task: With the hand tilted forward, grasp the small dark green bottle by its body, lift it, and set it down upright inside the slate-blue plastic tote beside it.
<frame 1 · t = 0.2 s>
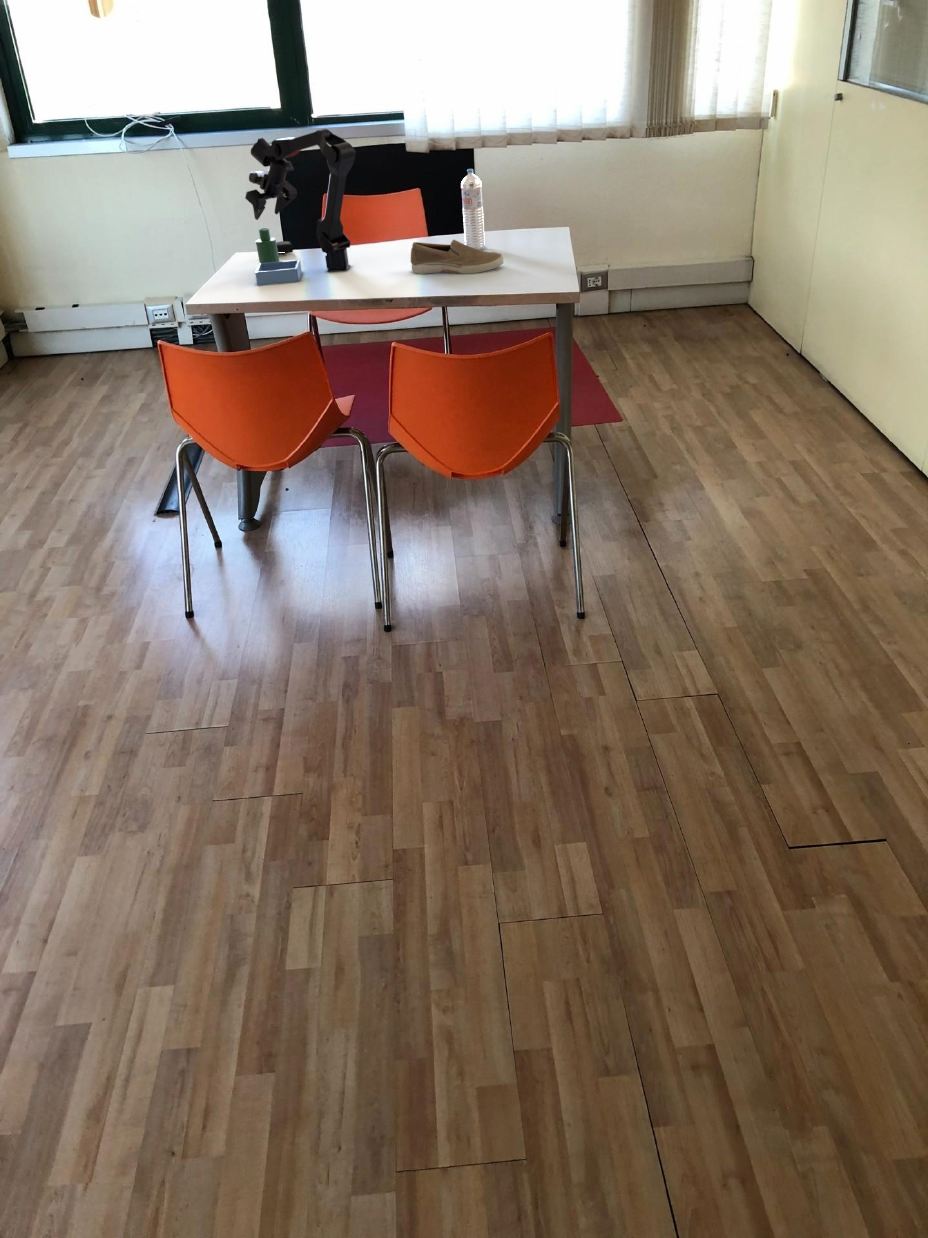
hand: (266, 216, 327), 15 cm above the table, tool tilted 35°, fingers open, 9 cm apart
slip on shoe: (457, 270, 306), on the table
tape measure: (284, 254, 344), on the table
water bottle: (475, 249, 329), on the table
bottle: (270, 269, 325), on the table
tote: (280, 278, 313), on the table
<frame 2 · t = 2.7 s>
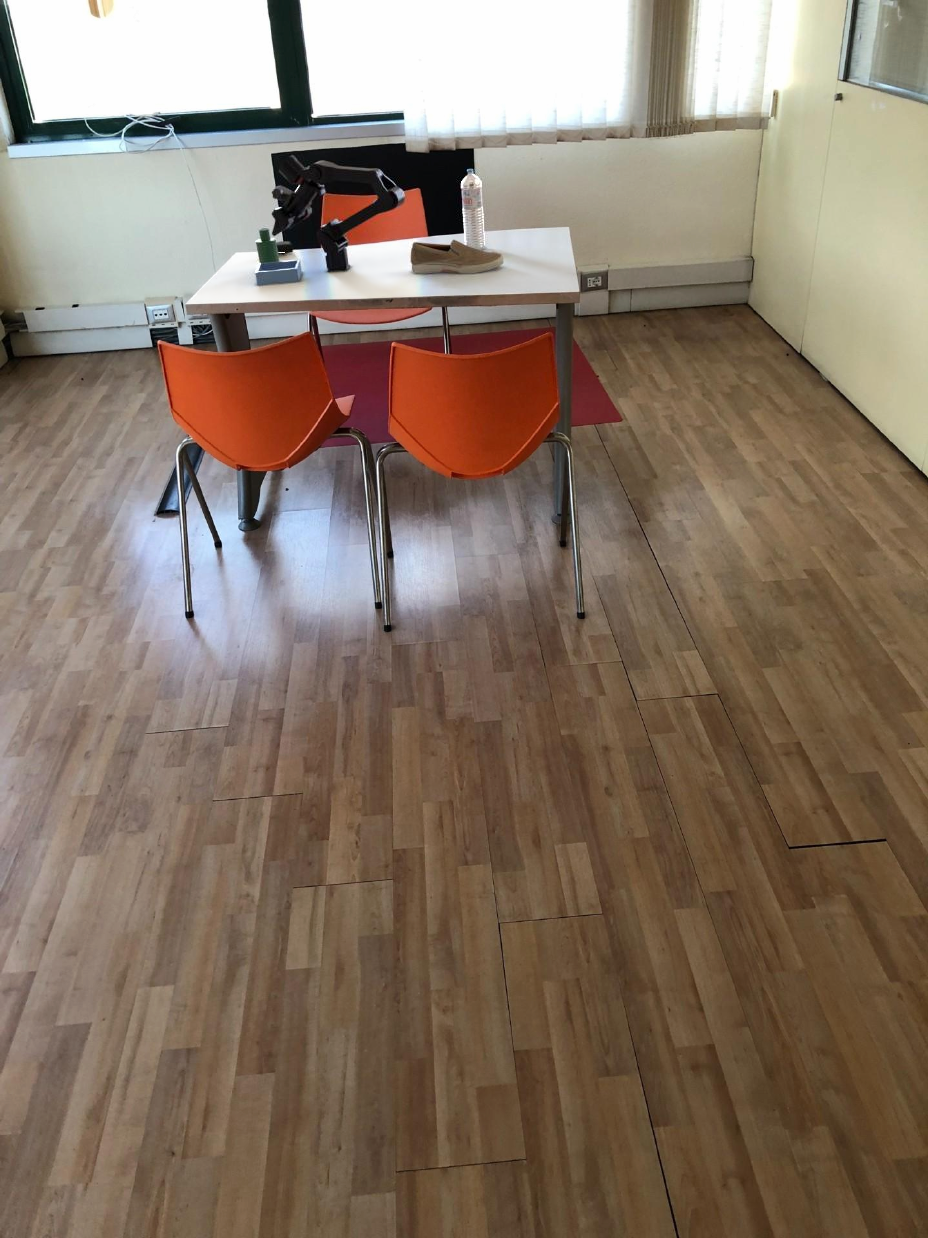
hand: (279, 231, 317), 12 cm above the table, tool tilted 45°, fingers open, 9 cm apart
nothing on the table moved.
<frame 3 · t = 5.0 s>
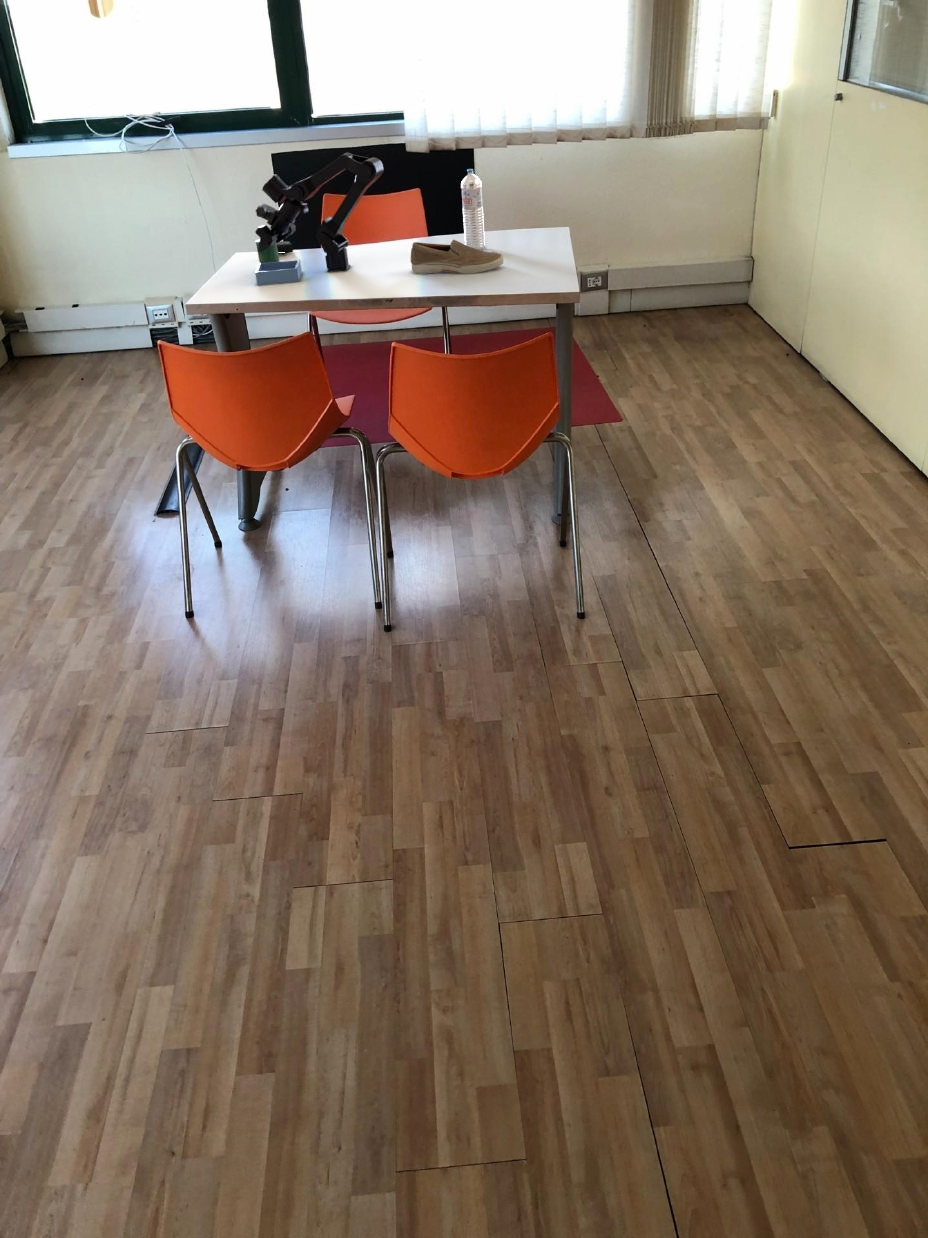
hand: (263, 248, 322), 7 cm above the table, tool tilted 45°, fingers closed on bottle, 7 cm apart
bottle: (270, 269, 325), on the table, touching gripper
everything else where it was.
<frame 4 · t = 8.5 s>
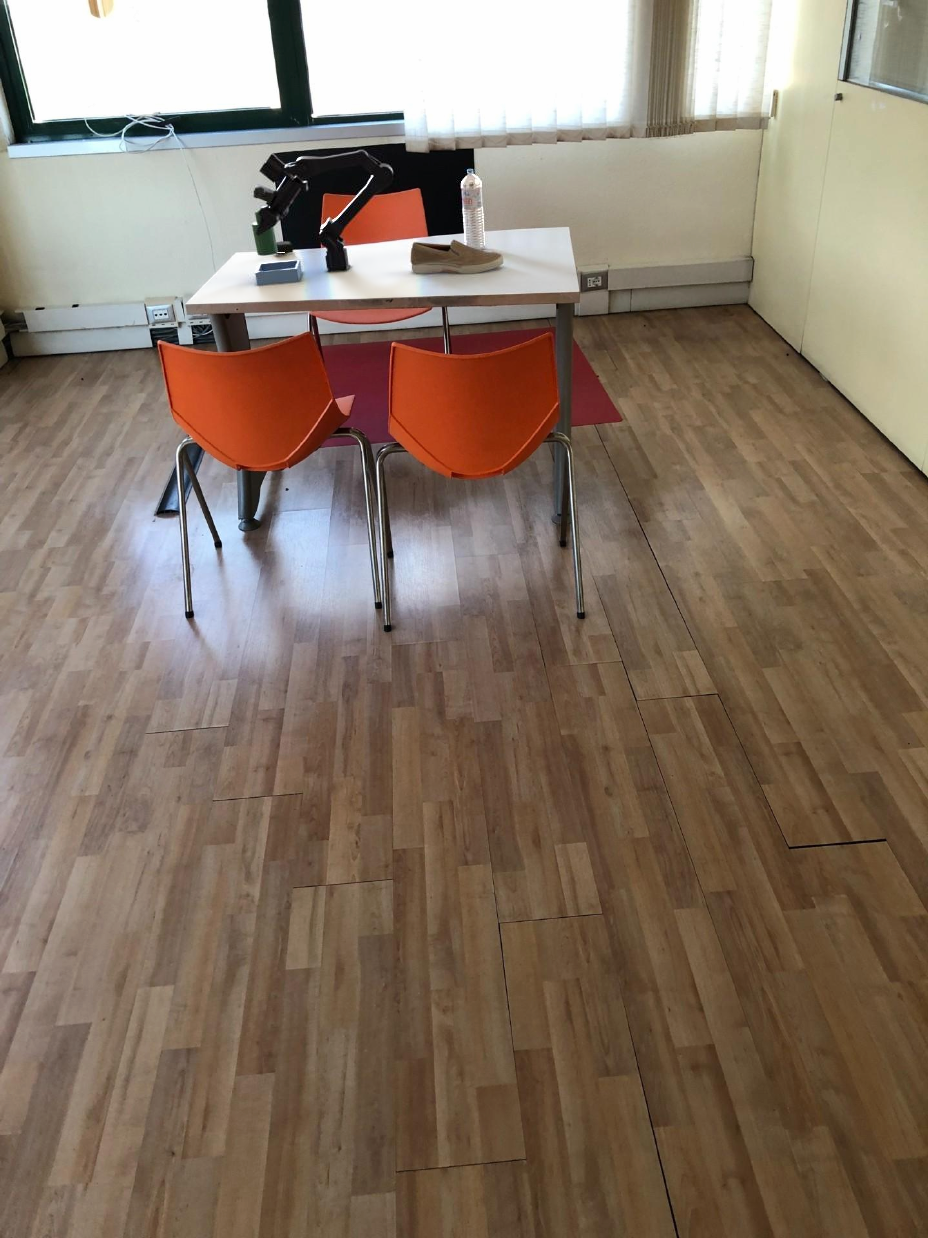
hand: (259, 232, 312), 13 cm above the table, tool tilted 45°, fingers closed on bottle, 7 cm apart
bottle: (267, 253, 315), point 7 cm above the table, touching gripper
everything else where it was.
when the fingers open (7 cm above the table, at t = 12.3 s): bottle stays where it is, resting on tote.
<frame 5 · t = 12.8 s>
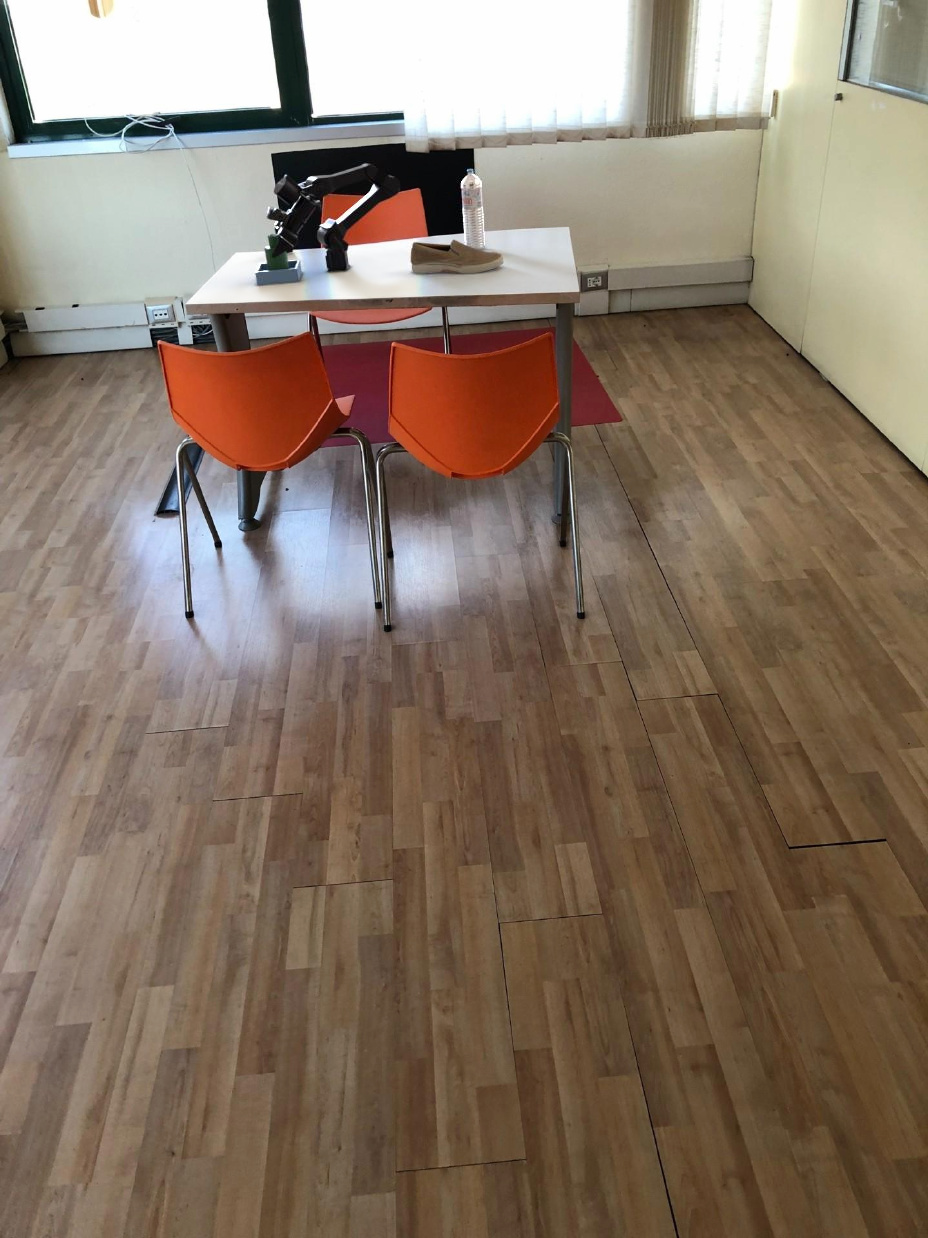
hand: (271, 254, 309), 8 cm above the table, tool tilted 45°, fingers open, 9 cm apart
bottle: (280, 276, 313), point 1 cm above the table, touching tote
everything else where it was.
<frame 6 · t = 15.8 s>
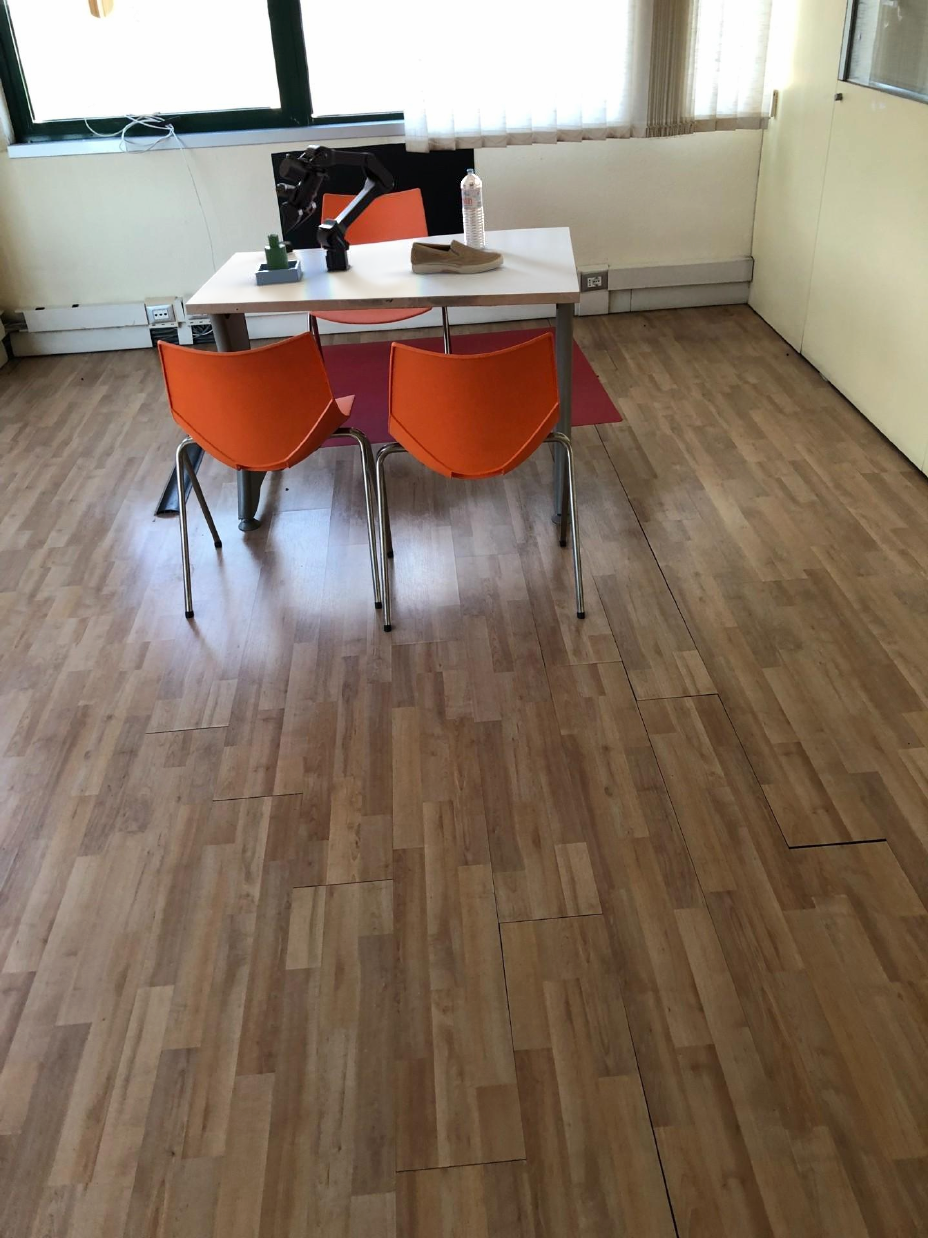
hand: (287, 231, 310), 13 cm above the table, tool tilted 35°, fingers open, 9 cm apart
nothing on the table moved.
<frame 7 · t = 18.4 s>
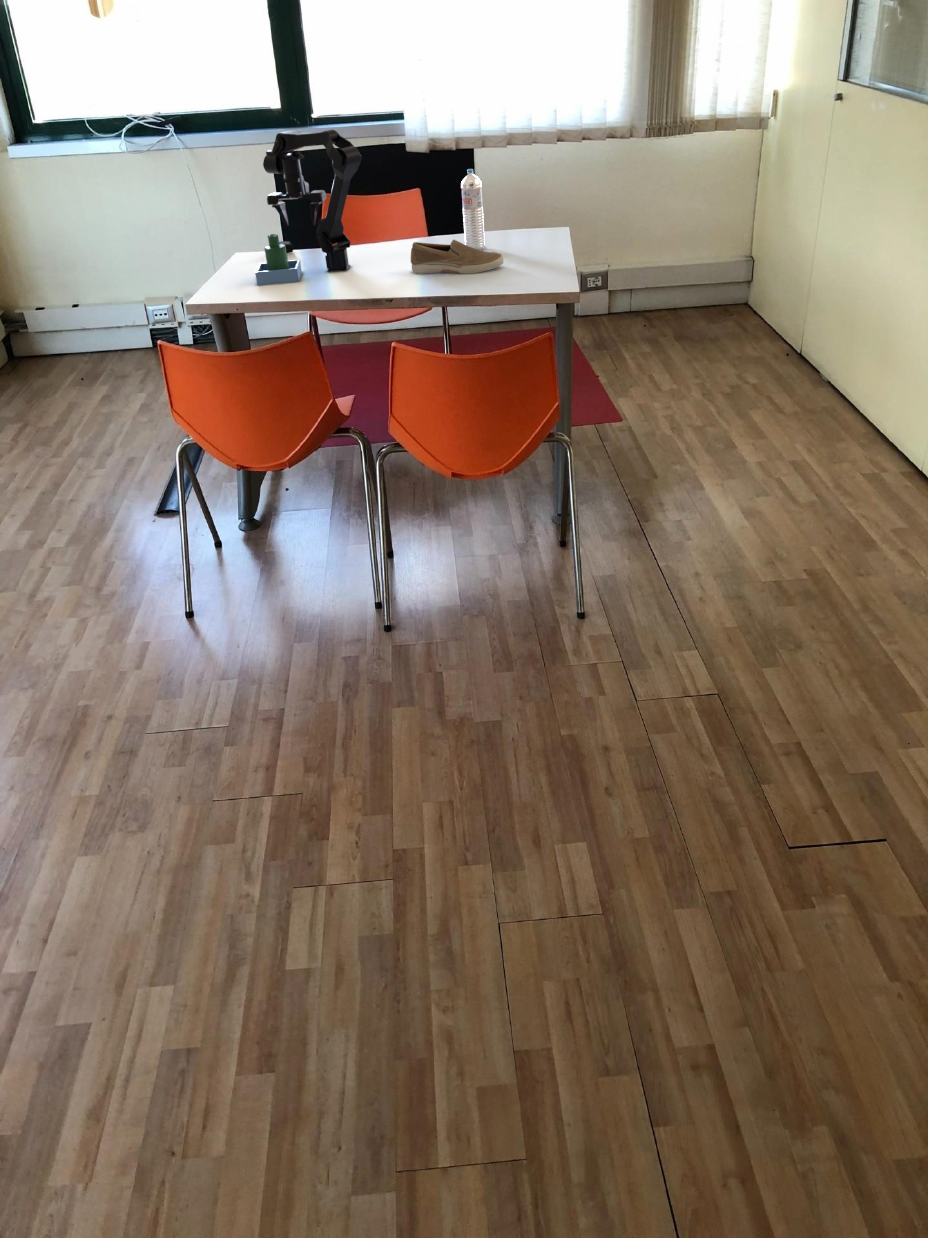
hand: (300, 225, 319), 13 cm above the table, tool pointing down, fingers open, 9 cm apart
nothing on the table moved.
at the end: bottle inside the target area in the tote (0.1 cm from its centre), point 0.6 cm above the tote's base; bottle tilted 0°; the gripper is holding nothing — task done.
